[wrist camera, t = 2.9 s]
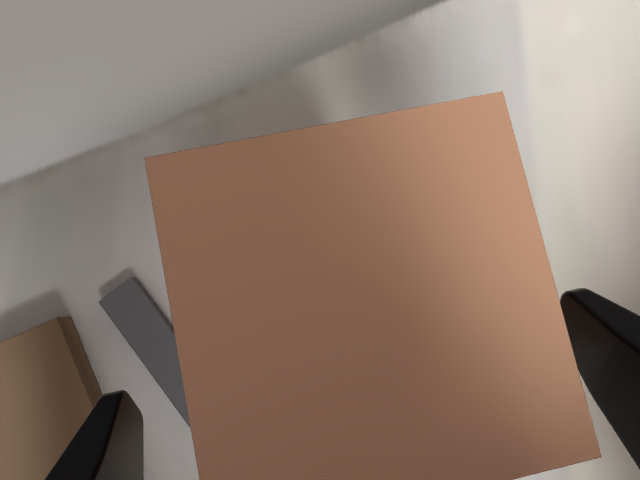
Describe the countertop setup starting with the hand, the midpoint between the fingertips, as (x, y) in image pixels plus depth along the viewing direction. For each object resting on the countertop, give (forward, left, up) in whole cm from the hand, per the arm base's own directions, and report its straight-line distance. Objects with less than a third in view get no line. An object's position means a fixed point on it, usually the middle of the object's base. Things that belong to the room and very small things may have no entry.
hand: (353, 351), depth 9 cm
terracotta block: (0, -1, -9) cm, 9 cm away
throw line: (+4, +4, -9) cm, 10 cm away
